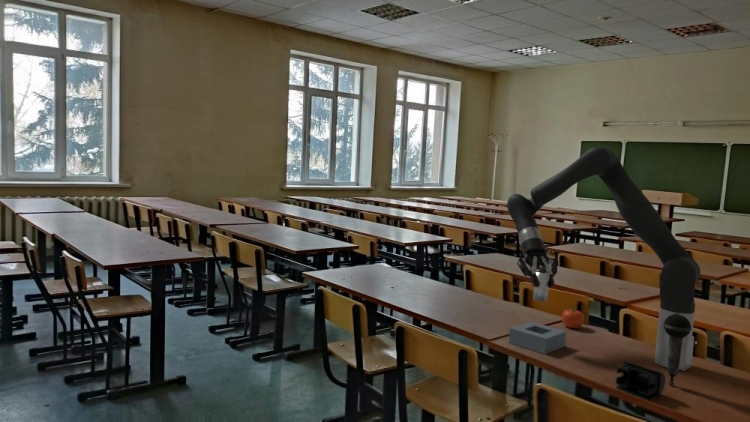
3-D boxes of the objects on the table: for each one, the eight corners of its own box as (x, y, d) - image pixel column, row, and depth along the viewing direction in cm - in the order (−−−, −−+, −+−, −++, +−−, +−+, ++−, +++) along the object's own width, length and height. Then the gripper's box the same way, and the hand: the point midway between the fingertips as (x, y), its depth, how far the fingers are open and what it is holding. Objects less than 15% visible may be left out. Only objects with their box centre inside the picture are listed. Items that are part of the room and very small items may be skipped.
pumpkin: (578, 331, 197) (580, 311, 196) (557, 326, 202) (558, 307, 202) (586, 327, 203) (588, 308, 202) (565, 322, 208) (567, 303, 207)
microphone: (690, 391, 147) (698, 318, 145) (664, 389, 147) (672, 317, 146) (677, 381, 154) (684, 311, 152) (652, 379, 154) (659, 310, 152)
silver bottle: (549, 299, 179) (552, 266, 178) (542, 301, 176) (545, 268, 175) (537, 296, 182) (540, 264, 181) (530, 298, 179) (533, 265, 178)
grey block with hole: (565, 346, 180) (566, 331, 179) (544, 354, 171) (545, 338, 171) (530, 335, 189) (531, 321, 189) (509, 342, 180) (510, 328, 180)
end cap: (664, 396, 144) (666, 371, 143) (650, 402, 139) (653, 376, 139) (627, 382, 152) (630, 358, 151) (613, 387, 147) (615, 363, 147)
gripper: (515, 236, 183) (527, 279, 173) (555, 237, 185) (569, 280, 175) (508, 249, 189) (519, 291, 178) (547, 250, 191) (560, 292, 180)
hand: (544, 286), depth 177 cm, fingers closed on silver bottle, 4 cm apart
